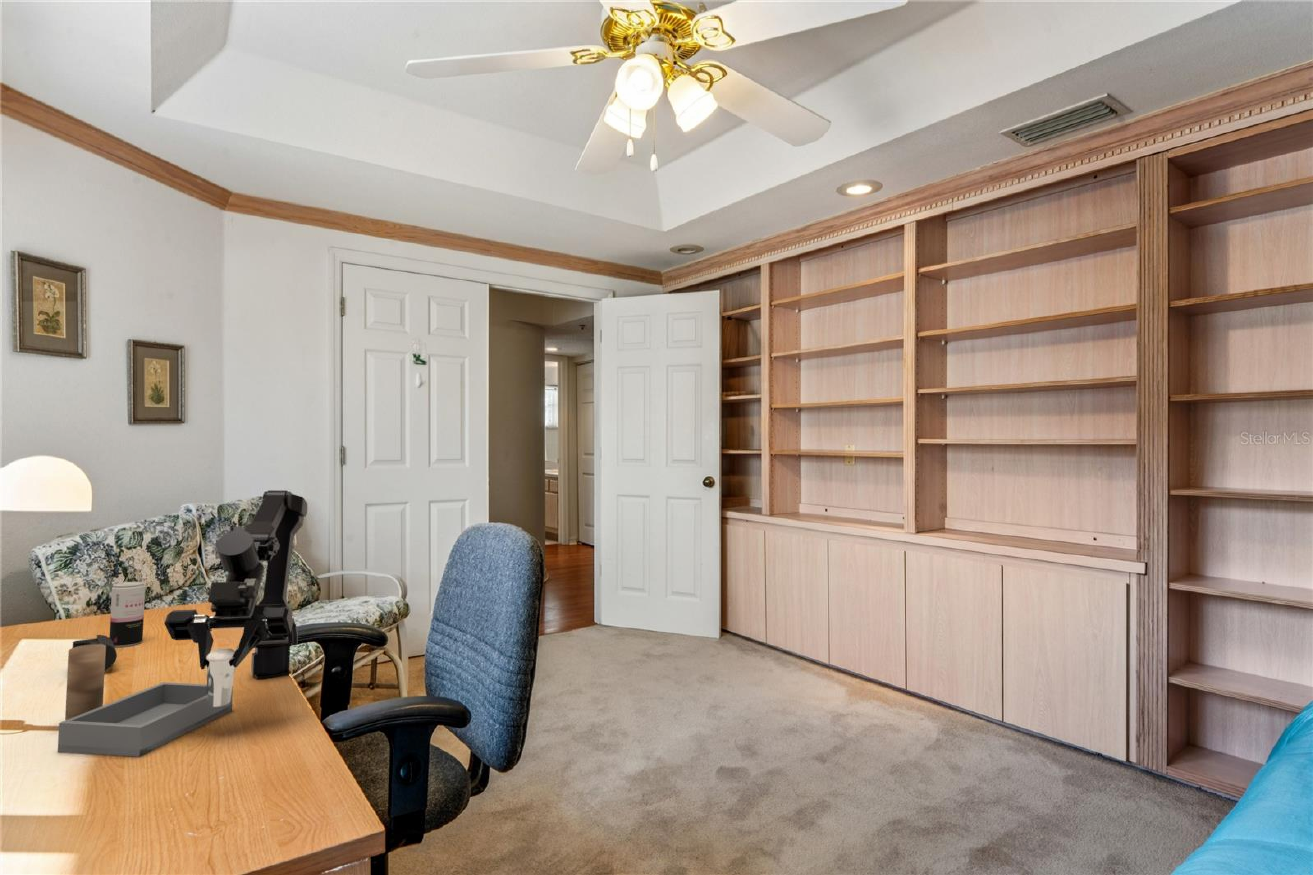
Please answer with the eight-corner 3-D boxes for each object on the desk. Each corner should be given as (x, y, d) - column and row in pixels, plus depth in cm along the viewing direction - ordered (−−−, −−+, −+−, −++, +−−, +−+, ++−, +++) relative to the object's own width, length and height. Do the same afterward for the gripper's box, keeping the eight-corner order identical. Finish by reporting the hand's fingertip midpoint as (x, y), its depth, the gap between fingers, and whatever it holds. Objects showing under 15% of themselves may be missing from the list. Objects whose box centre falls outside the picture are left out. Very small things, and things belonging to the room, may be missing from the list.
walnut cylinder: (102, 715, 121) (105, 642, 121) (102, 723, 117) (105, 648, 117) (65, 721, 118) (69, 647, 118) (64, 730, 114) (68, 653, 114)
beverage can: (104, 645, 165) (107, 584, 166) (135, 639, 171) (138, 580, 172) (115, 649, 162) (118, 587, 163) (147, 643, 168) (150, 583, 168)
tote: (162, 706, 125) (163, 682, 126) (231, 710, 124) (232, 685, 124) (57, 751, 106) (59, 722, 106) (139, 756, 104) (140, 727, 104)
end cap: (116, 673, 144) (117, 641, 145) (72, 680, 140) (74, 647, 140) (112, 662, 152) (114, 632, 152) (71, 668, 147) (73, 637, 147)
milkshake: (222, 710, 111) (226, 650, 111) (195, 706, 112) (200, 646, 112) (244, 701, 115) (248, 643, 116) (218, 697, 116) (223, 639, 117)
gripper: (171, 563, 115) (139, 645, 104) (291, 561, 121) (272, 639, 110) (187, 600, 123) (158, 680, 112) (299, 596, 128) (283, 672, 117)
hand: (218, 667), depth 112 cm, fingers closed on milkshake, 4 cm apart
